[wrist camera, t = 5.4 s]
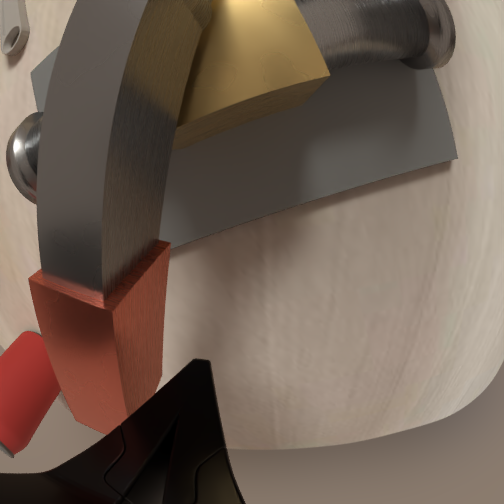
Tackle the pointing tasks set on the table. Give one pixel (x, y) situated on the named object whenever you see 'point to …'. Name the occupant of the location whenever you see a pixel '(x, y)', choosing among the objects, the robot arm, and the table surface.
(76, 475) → the robot arm
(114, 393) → the lever
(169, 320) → the table surface
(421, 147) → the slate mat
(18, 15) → the adjustable wrench
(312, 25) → the valve body
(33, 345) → the beer can
